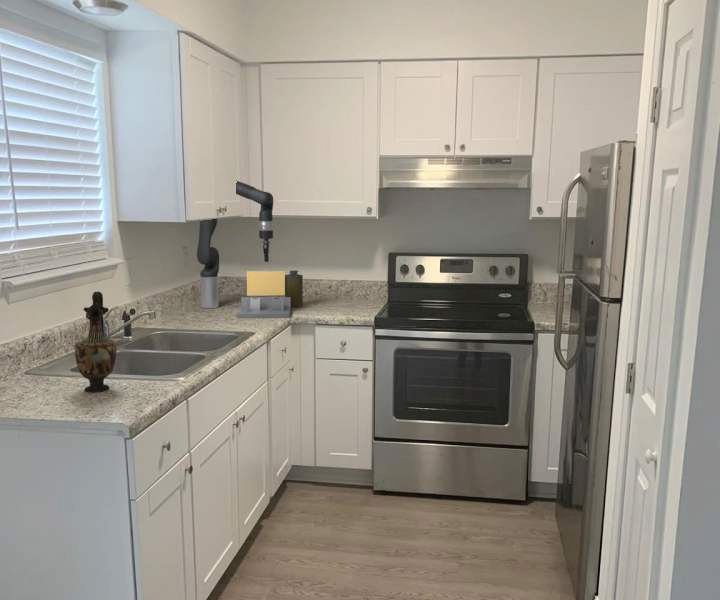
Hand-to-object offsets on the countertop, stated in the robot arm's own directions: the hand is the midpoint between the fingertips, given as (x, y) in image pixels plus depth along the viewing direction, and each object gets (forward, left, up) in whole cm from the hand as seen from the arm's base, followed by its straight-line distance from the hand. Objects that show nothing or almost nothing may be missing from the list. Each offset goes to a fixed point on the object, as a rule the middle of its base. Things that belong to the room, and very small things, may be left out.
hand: (266, 261), depth 329 cm
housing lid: (+7, 0, -11) cm, 13 cm away
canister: (-10, +14, -26) cm, 31 cm away
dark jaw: (+14, +6, -24) cm, 28 cm away
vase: (+144, -41, -26) cm, 152 cm away
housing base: (+17, 0, -26) cm, 31 cm away
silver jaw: (+14, -5, -24) cm, 28 cm away
